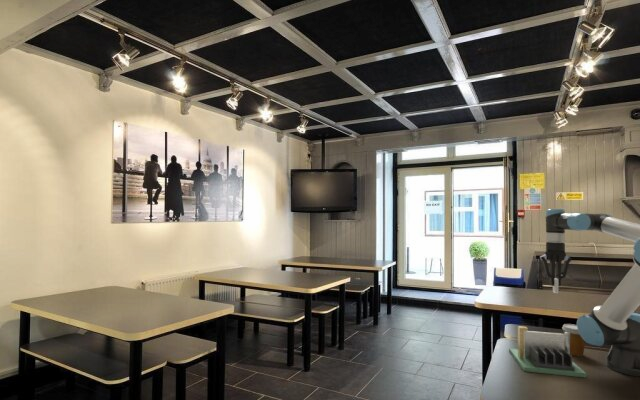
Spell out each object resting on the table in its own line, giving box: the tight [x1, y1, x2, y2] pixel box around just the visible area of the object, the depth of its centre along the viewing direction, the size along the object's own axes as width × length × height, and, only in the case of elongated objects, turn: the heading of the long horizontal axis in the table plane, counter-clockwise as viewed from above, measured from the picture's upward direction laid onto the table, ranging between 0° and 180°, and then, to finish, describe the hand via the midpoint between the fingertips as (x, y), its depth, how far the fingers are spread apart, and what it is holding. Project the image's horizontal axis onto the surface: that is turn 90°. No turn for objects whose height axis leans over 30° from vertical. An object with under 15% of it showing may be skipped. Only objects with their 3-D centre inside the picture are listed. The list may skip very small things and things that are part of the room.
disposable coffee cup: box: [561, 323, 586, 357], centre depth 170 cm, size 10×10×12 cm
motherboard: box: [508, 348, 587, 378], centre depth 158 cm, size 22×22×2 cm
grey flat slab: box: [524, 330, 564, 358], centre depth 158 cm, size 15×2×11 cm, turn 78°
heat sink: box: [517, 325, 574, 371], centre depth 154 cm, size 19×11×13 cm, turn 77°
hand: (555, 292), depth 175 cm, fingers closed
